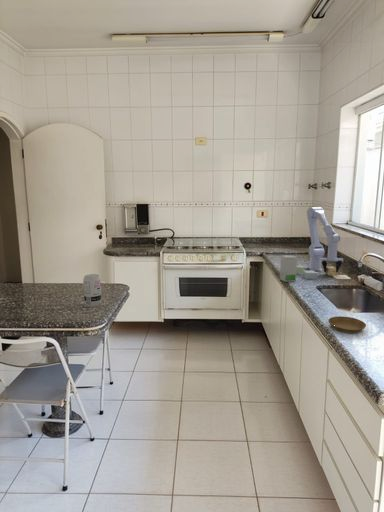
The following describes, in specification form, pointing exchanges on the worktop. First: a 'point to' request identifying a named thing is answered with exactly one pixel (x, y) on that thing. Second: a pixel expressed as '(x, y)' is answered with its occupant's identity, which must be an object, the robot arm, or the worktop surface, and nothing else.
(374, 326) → the worktop surface
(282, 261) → the skincare box
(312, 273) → the blue-grey base block
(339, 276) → the card
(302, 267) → the sage block
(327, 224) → the robot arm
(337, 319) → the plant saucer
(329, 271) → the maple block
